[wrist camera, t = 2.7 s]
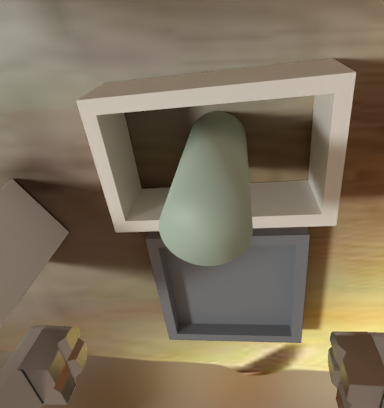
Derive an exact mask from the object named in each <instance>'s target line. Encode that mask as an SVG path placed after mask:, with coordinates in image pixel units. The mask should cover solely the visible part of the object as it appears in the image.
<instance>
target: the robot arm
mask: <svg viewBox="0 0 384 408" xmlns="http://www.w3.org/2000/svg"><path fill="white" fill-rule="evenodd" d="M79 335H80V331H79V329H78V327H69V326H49V325H34V326H32V327H31V328H30V329H29V330H28V331H27V333H26V334H25V336H24V337H23V339H22V340H21V342H20V343H19V345H18V346H17V348H16V349H15V351H14V352H13V354H12V356H11V357H10V358H9V360H8V361H7V363H6V364H5V366H4V368H3V369H0V408H41V407H42V406H43V404H56V405H67V404H68V402H69V400H70V398H71V395H72V393H73V391H74V388H75V386H76V380H75V377H76V376H77V375H78V374H79V373H80V372H82V370H83V368H84V365H85V363H86V357H87V348H86V345H85V342H84V341H82V340H81V339H80V338H79ZM330 341H331V345H332V347H331V348H330V349H329V352H328V365H329V372H330V376H331V380H332V383H333V384H334V385H335V386H336V387H337V394H336V401H337V405H338V408H384V333H376V332H369V333H368V332H332V333H331V336H330Z"/></svg>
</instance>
